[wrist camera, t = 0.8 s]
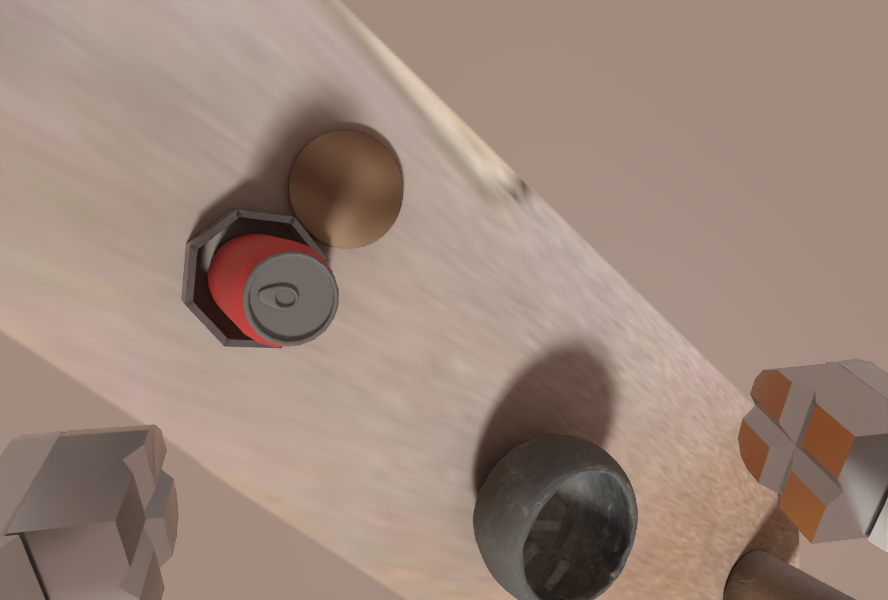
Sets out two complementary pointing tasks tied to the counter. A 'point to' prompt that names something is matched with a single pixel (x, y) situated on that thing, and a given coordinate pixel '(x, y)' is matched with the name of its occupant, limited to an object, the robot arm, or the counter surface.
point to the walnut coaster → (345, 189)
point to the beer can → (273, 289)
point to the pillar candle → (775, 581)
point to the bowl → (556, 519)
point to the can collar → (207, 235)
